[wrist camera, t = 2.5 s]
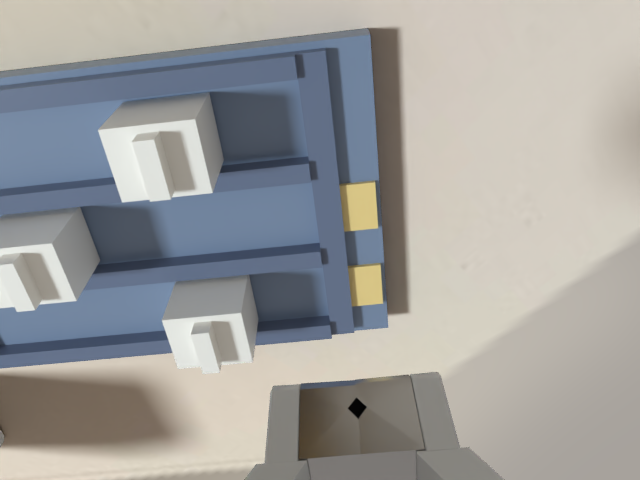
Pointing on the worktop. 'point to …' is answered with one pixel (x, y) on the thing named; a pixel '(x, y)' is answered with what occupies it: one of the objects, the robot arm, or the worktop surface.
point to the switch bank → (206, 209)
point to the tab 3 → (211, 322)
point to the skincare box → (1, 438)
